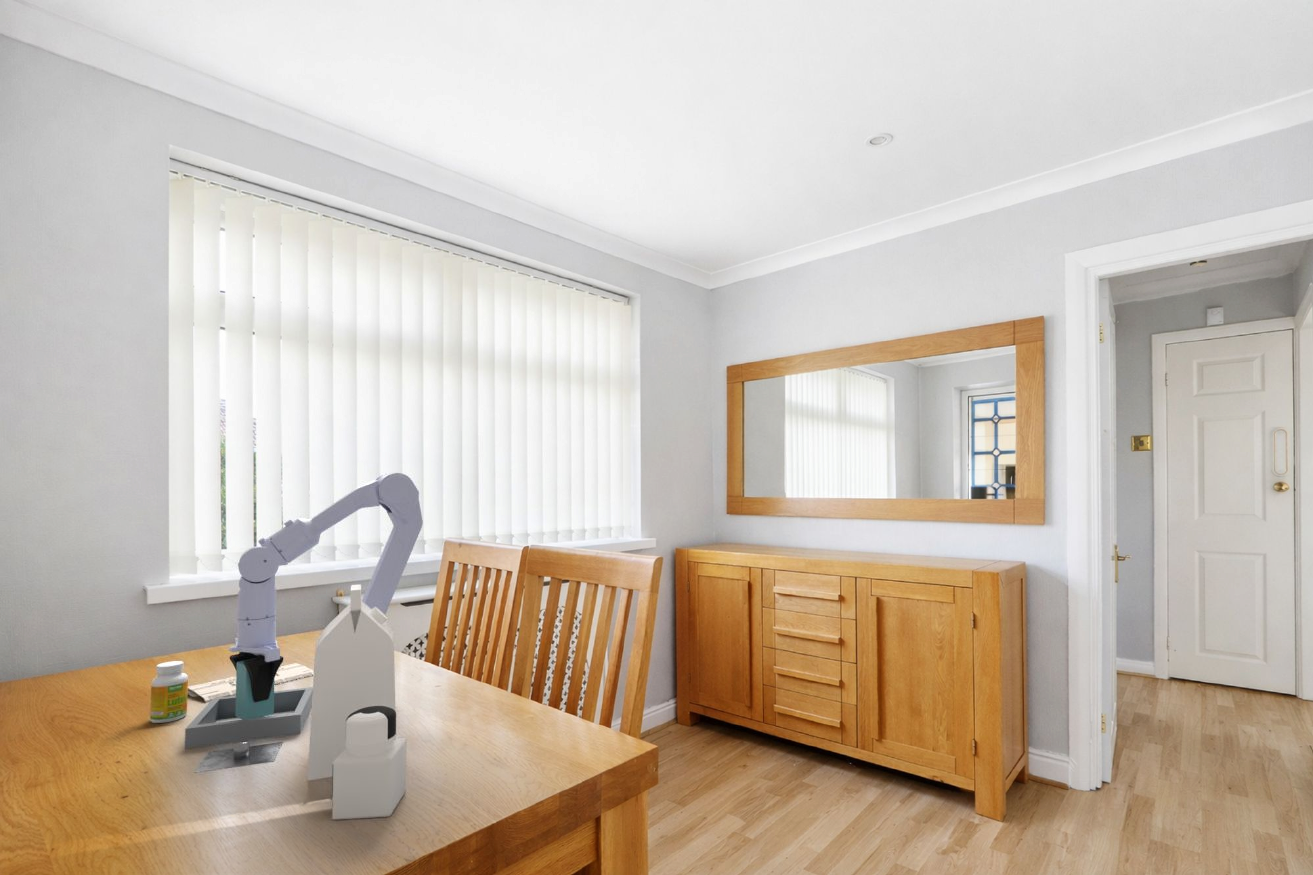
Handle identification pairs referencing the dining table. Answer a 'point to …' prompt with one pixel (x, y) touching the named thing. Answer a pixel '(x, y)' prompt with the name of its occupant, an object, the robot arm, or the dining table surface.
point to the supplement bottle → (169, 693)
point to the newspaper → (229, 684)
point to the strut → (250, 697)
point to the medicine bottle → (369, 766)
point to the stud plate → (239, 756)
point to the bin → (249, 720)
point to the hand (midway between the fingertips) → (255, 697)
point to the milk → (348, 678)
